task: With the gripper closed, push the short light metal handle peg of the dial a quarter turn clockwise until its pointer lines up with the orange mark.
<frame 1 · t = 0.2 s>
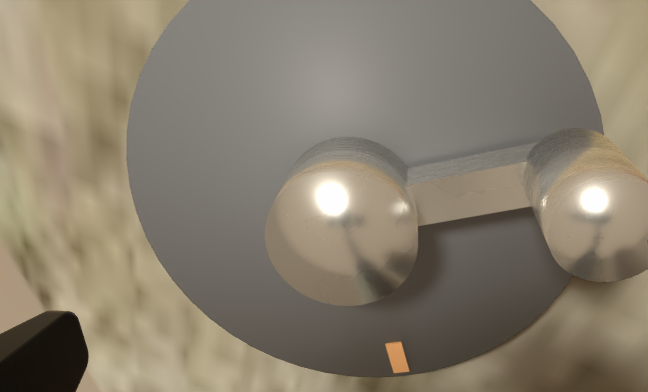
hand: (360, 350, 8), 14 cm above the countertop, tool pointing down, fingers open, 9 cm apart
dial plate: (355, 180, 22), on the countertop
dial: (439, 216, 17), point 4 cm above the countertop, hinge at 0.0°
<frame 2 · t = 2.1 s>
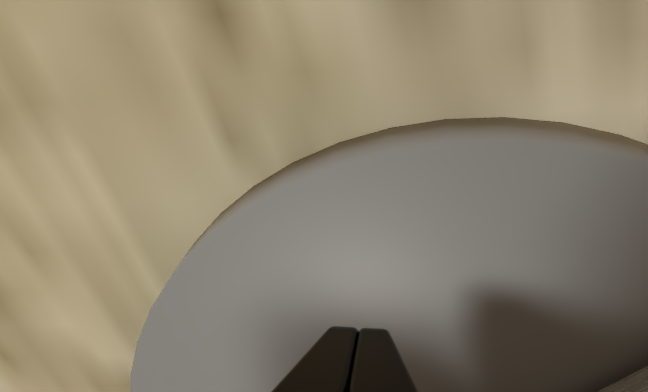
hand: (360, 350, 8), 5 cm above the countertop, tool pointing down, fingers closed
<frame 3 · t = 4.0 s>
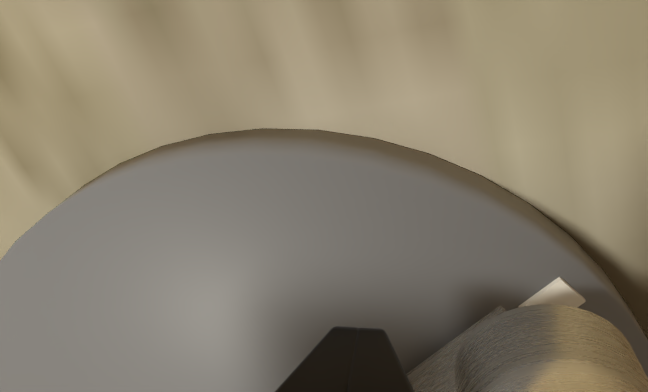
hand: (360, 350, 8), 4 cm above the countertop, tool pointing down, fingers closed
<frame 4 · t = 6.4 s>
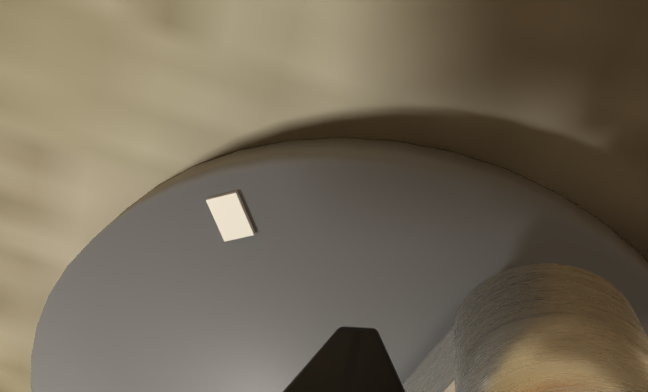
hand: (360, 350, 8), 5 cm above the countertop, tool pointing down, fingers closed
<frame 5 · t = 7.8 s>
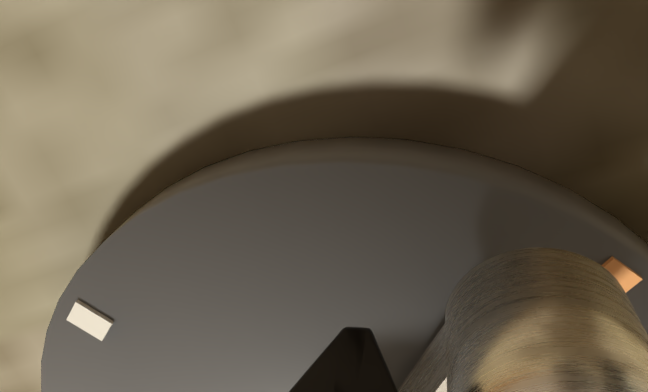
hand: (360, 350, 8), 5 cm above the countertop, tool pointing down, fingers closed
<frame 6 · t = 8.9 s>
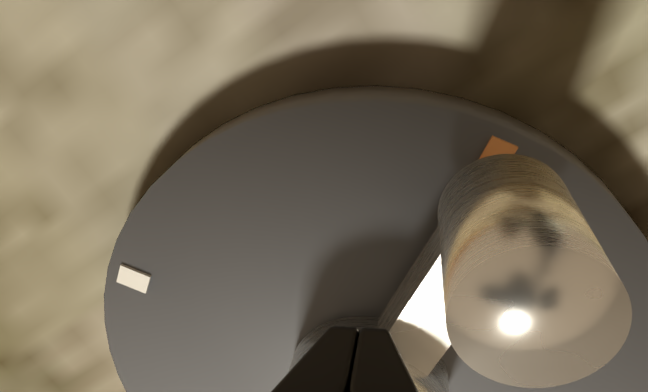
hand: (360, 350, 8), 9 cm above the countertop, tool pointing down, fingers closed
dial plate: (372, 341, 19), on the countertop
dial: (416, 372, 14), point 4 cm above the countertop, hinge at -92.8°
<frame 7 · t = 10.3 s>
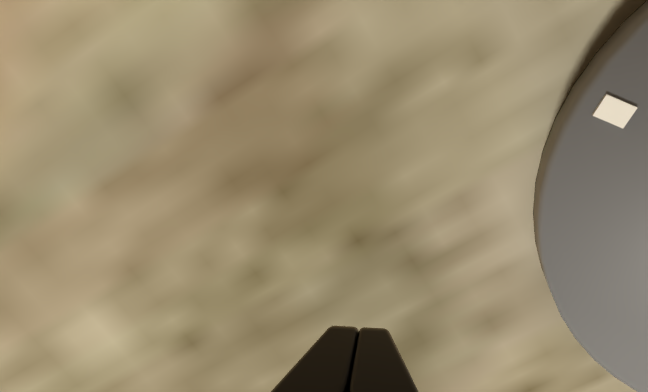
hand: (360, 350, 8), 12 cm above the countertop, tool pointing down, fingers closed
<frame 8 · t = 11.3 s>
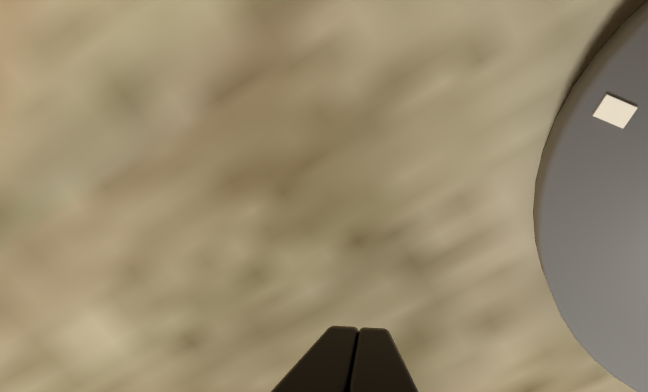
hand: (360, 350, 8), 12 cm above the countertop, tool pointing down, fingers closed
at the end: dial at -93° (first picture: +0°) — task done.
